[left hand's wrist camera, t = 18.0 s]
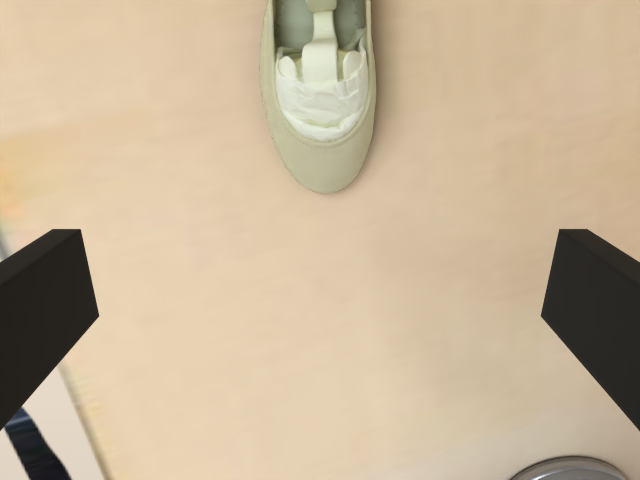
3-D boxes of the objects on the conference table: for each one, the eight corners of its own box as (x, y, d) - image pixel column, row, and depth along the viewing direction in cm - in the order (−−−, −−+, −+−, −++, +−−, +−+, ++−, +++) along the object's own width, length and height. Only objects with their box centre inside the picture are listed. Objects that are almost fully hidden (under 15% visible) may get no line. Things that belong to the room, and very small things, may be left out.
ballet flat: (272, 191, 37) (260, 224, 29) (239, -196, 28) (210, -290, 20) (374, 186, 37) (388, 219, 29) (375, -203, 27) (396, -301, 20)
